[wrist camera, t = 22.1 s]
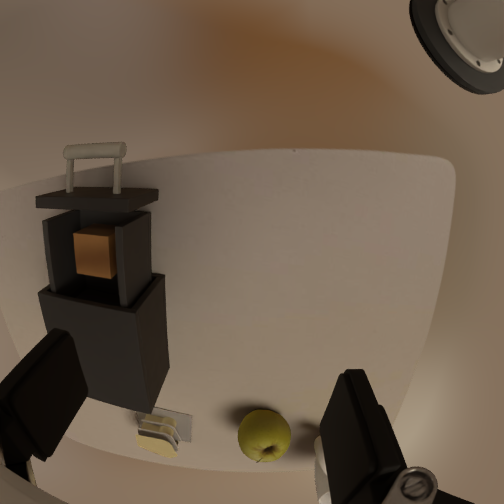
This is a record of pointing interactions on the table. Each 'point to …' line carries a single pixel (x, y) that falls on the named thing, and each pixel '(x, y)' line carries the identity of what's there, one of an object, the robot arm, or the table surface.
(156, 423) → the stacked layers on plate
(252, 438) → the apple
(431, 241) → the table surface
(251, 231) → the table surface
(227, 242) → the table surface
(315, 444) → the mug
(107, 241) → the block
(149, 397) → the dark grey box
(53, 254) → the drawer
